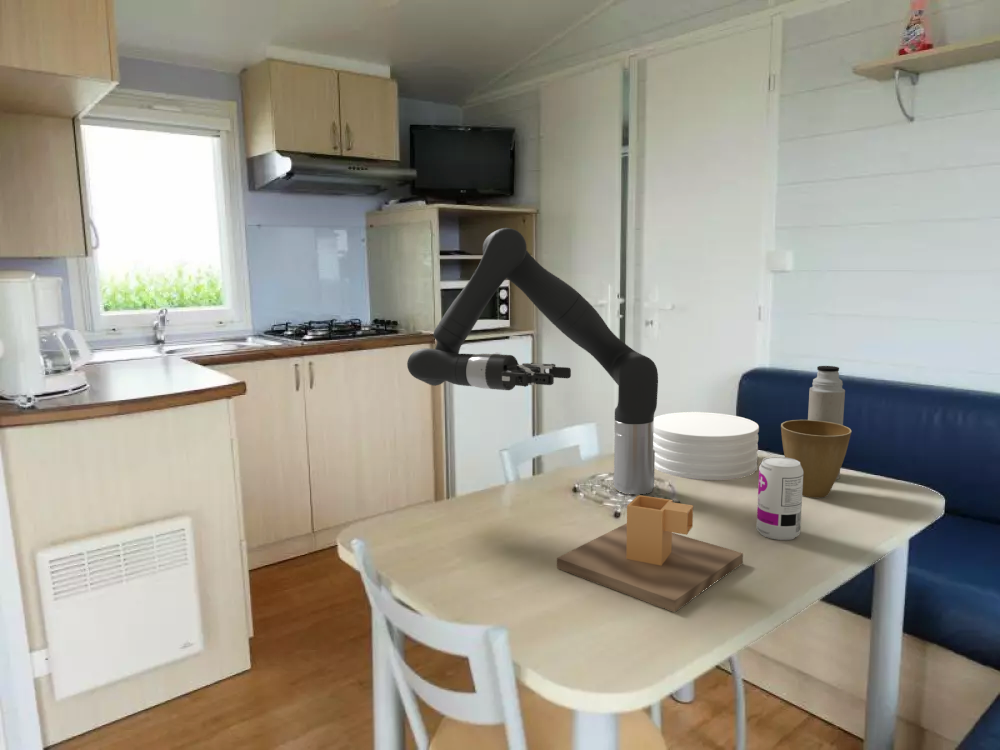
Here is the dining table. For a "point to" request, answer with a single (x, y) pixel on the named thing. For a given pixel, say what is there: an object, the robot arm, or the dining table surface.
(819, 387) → the thermos bottle
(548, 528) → the dining table surface
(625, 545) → the mount board
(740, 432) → the plate stack
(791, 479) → the supplement can
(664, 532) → the open-top tan box
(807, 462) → the plant pot
